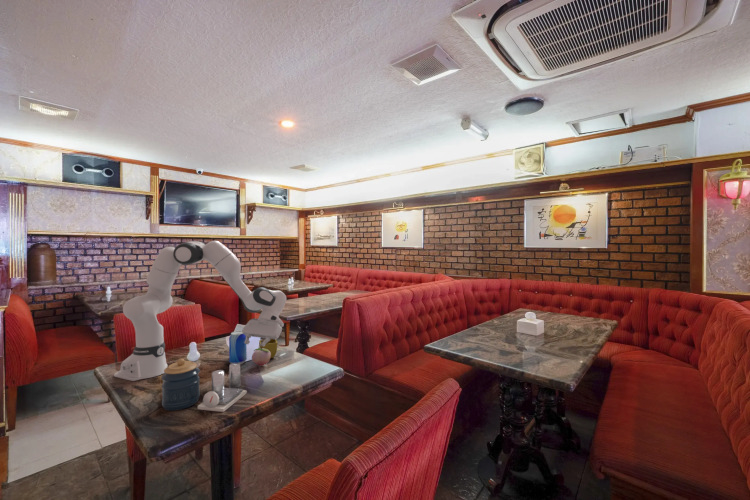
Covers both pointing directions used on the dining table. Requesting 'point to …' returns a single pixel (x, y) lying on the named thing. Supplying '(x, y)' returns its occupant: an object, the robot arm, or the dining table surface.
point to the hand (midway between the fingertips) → (254, 344)
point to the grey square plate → (229, 395)
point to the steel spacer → (234, 375)
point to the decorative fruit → (261, 356)
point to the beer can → (237, 348)
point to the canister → (180, 385)
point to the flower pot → (270, 346)
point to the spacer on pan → (218, 383)
